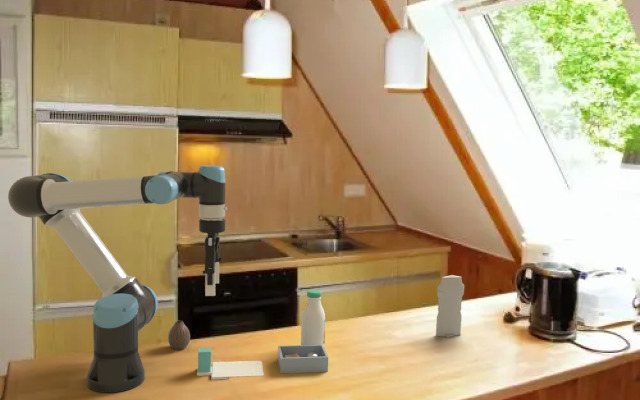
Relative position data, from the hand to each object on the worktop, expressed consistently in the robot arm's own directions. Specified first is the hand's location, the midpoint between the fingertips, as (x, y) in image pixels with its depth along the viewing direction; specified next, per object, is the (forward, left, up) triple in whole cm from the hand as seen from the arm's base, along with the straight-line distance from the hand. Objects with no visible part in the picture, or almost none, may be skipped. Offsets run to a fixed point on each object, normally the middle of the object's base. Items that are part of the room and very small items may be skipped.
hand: (212, 289), depth 168 cm
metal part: (+30, -3, -23) cm, 38 cm away
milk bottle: (+32, +9, -24) cm, 41 cm away
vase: (-11, +15, -24) cm, 30 cm away
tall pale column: (+83, +20, -24) cm, 89 cm away
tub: (+27, -4, -24) cm, 36 cm away
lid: (+6, -5, -24) cm, 25 cm away
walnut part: (+24, -4, -23) cm, 34 cm away
